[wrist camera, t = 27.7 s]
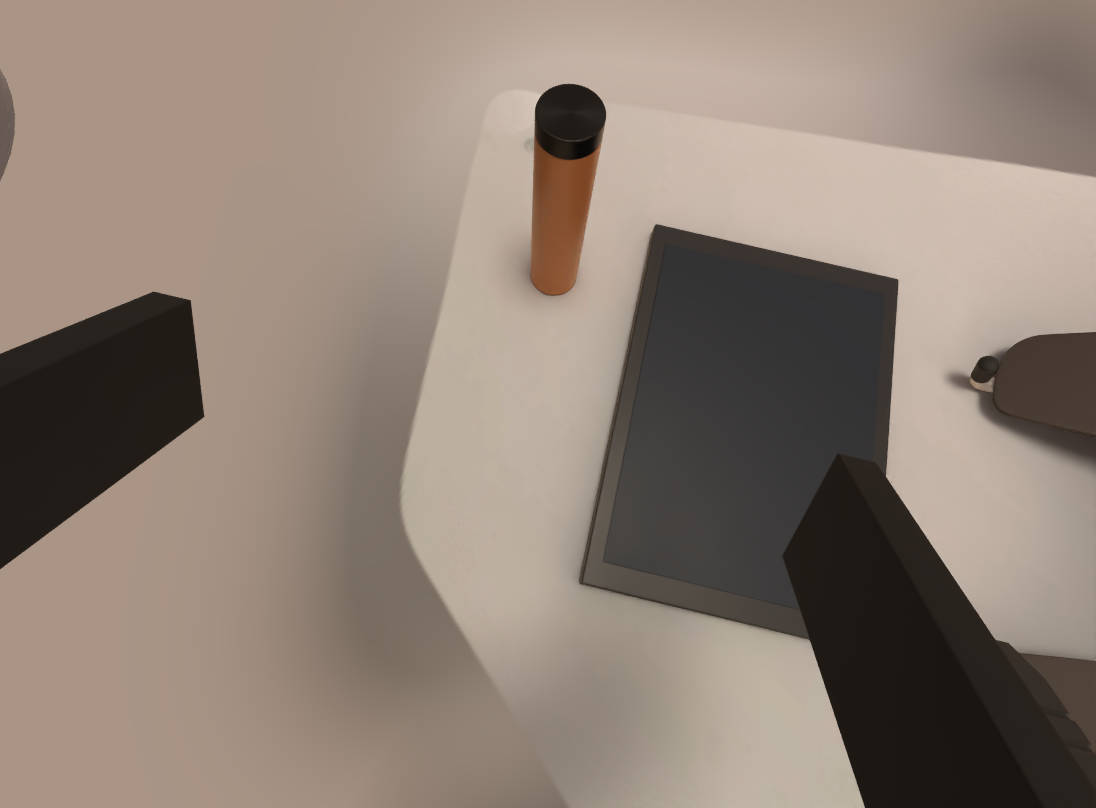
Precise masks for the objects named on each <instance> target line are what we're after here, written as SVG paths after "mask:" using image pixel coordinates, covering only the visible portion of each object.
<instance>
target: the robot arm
mask: <svg viewBox="0 0 1096 808" xmlns="http://www.w3.org/2000/svg"><path fill="white" fill-rule="evenodd" d="M203 417H204V411H203V403H202V394H201V385H200V377H199V368H198V360H197V351H196V342H195V334H194V325H193V317H192V308H191V300H187V299H183V298H178V297H174V296H169V295H165V294H161V293H157V292H152V293H149V294H147V295H144V296H142V297H139V298H137V299H134V300H132V301H130V302H127V303H125V304H122V305H120V306H117V307H115V308H112V309H110V310H107V311H105V312H102V313H100V314H98V315H95V316H93V317H90V318H88V319H85V320H83V321H80V322H78V323H75V324H73V325H71V326H68V327H65V328H63V329H61V330H58V331H56V332H53V333H51V334H48V335H46V336H43V337H41V338H38V339H36V340H33V341H31V342H29V343H26V344H23V345H21V346H19V347H16V348H14V349H11V350H9V351H6V352H4V353H1V354H0V569H1V568H2V567H4V566H5V565H6V564H7V563H9V562H10V561H12V560H13V559H14V558H16V557H17V556H18V555H20V554H21V553H22V552H24V551H25V550H26V549H28V548H29V547H31V546H32V545H33V544H34V543H36V542H37V541H39V540H40V539H41V538H42V537H44V536H45V535H46V534H48V533H49V532H51V531H52V530H53V529H55V528H56V527H57V526H58V525H60V524H61V523H63V522H64V521H65V520H67V519H68V518H69V517H71V516H72V515H73V514H75V513H76V512H77V511H79V510H80V509H81V508H82V507H84V506H85V505H87V504H88V503H89V502H91V501H92V500H93V499H95V498H96V497H97V496H99V495H100V494H101V493H103V492H104V491H106V490H107V489H108V488H109V487H111V486H112V485H114V484H115V483H116V482H118V481H119V480H120V479H122V478H123V477H124V476H126V475H127V474H128V473H130V472H131V471H132V470H134V469H135V468H136V467H138V466H139V465H140V464H142V463H143V462H144V461H146V460H147V459H148V458H150V457H151V456H152V455H154V454H155V453H157V452H158V451H159V450H160V449H162V448H163V447H164V446H166V445H167V444H169V443H170V442H171V441H173V440H174V439H175V438H176V437H178V436H179V435H181V434H182V433H183V432H184V431H186V430H187V429H189V428H190V427H191V426H193V425H194V424H195V423H197V422H198V421H199V420H201V419H202V418H203ZM782 557H783V560H784V563H785V566H786V569H787V572H788V575H789V578H790V581H791V584H792V587H793V590H794V593H795V596H796V599H797V602H798V605H799V608H800V611H801V614H802V617H803V620H804V623H805V627H806V630H807V633H808V636H809V639H810V642H811V645H812V648H813V651H814V654H815V657H816V660H817V663H818V666H819V669H820V672H821V675H822V678H823V681H824V684H825V687H826V690H827V693H828V696H829V699H830V703H831V706H832V709H833V712H834V715H835V718H836V721H837V724H838V727H839V730H840V733H841V736H842V739H843V742H844V745H845V748H846V751H847V754H848V757H849V760H850V763H851V766H852V769H853V772H854V775H855V778H856V782H857V785H858V788H859V791H860V794H861V797H862V800H863V803H864V806H865V808H1096V753H1095V752H1092V749H1091V746H1092V744H1091V743H1090V741H1089V740H1088V738H1087V737H1086V736H1085V734H1084V733H1083V731H1082V730H1081V729H1080V727H1079V726H1078V724H1077V723H1076V722H1075V721H1072V720H1070V718H1069V715H1070V713H1069V712H1068V710H1067V709H1066V708H1065V706H1064V705H1063V703H1062V702H1061V701H1060V699H1059V698H1058V696H1057V695H1056V694H1055V692H1054V691H1053V689H1052V688H1051V686H1050V685H1049V684H1048V682H1047V681H1046V679H1045V678H1044V677H1043V676H1042V675H1041V674H1040V673H1039V672H1038V671H1037V670H1036V669H1035V668H1034V667H1033V666H1032V665H1031V664H1030V663H1029V662H1028V661H1026V660H1025V659H1024V658H1023V657H1022V656H1021V655H1020V654H1019V653H1018V652H1017V651H1016V650H1015V649H1014V648H1013V647H1012V646H1011V645H1010V644H1009V643H1006V642H1002V641H997V640H995V639H994V637H993V636H992V634H991V633H990V631H989V630H988V628H987V627H986V625H985V624H984V622H983V621H982V619H981V618H980V616H979V615H978V613H977V612H976V610H975V609H974V607H973V606H972V604H971V603H970V601H969V600H968V598H967V597H966V596H965V594H964V593H963V591H962V590H961V588H960V587H959V585H958V584H957V582H956V581H955V579H954V578H953V576H952V575H951V573H950V572H949V570H948V569H947V567H946V566H945V564H944V563H943V561H942V560H941V558H940V557H939V555H938V554H937V552H936V551H935V549H934V548H933V546H932V545H931V543H930V542H929V540H928V539H927V537H926V536H925V534H924V533H923V531H922V530H921V528H920V527H919V525H918V524H917V523H916V521H915V520H914V518H913V517H912V515H911V514H910V512H909V511H908V509H907V508H906V506H905V505H904V503H903V502H902V500H901V499H900V497H899V496H898V494H897V493H896V491H895V490H894V488H893V487H892V485H891V484H890V482H889V481H888V479H887V478H886V476H885V475H884V473H883V472H882V470H881V469H880V467H879V466H878V464H877V463H876V462H873V461H869V460H864V459H860V458H856V457H852V456H847V455H843V454H839V453H837V455H836V457H835V459H834V460H833V462H832V464H831V466H830V468H829V470H828V472H827V473H826V475H825V477H824V479H823V481H822V483H821V485H820V486H819V488H818V490H817V492H816V494H815V496H814V498H813V499H812V501H811V503H810V505H809V507H808V509H807V511H806V512H805V514H804V516H803V518H802V520H801V522H800V524H799V525H798V527H797V529H796V531H795V533H794V535H793V536H792V538H791V540H790V542H789V544H788V546H787V548H786V549H785V551H784V553H783V555H782Z"/></svg>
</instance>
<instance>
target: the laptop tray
mask: <svg viewBox="0 0 1096 808" xmlns="http://www.w3.org/2000/svg"><path fill="white" fill-rule="evenodd" d="M998 367H999V368H998ZM997 369H998V371H997V374H996V377H995V378H994V377H992V376H993V375H994V373H995V372H996V370H997ZM970 383H971V384H972V386H973V387H974V388H976V389H979V390H982V391H986V392H993V404H994V406H995V407H996V409H997V410H998V411H1000V412H1001V413H1003V414H1005V415H1008V416H1011V417H1014V418H1018V419H1022V420H1026V421H1030V422H1034V423H1038V424H1042V425H1047V426H1051V427H1055V428H1059V429H1063V430H1067V431H1072V432H1076V433H1080V434H1085V435H1089V436H1094V437H1096V332H1090V333H1067V334H1049V335H1038V336H1033V337H1030V338H1027V339H1024V340H1022V341H1020V342H1018V343H1017V344H1015V345H1014V346H1013V347H1011V348H1010V349H1009V350H1008V351H1007V353H1006V354H1005V356H1004V357H1003V359H1002V361H1001V363H1000V365H999V362H998V360H997V359H996V358H994V357H991V356H985V357H982V358H980V359H979V360H978V362H977V364H976V366H975V368H974V369H973V371H972V373H971V377H970ZM1019 654H1020V655H1021V656H1022V657H1023V658H1024V659H1025V660H1026V661H1028V662H1029V663H1030V664H1031V665H1032V666H1033V667H1034V668H1035V669H1036V670H1037V671H1038V672H1039V673H1040V674H1041V675H1042V676H1043V677H1044V678H1045V679H1046V681H1047V682H1048V684H1049V685H1050V686H1051V688H1052V689H1053V691H1054V692H1055V694H1056V695H1057V696H1058V698H1059V699H1060V701H1061V702H1062V703H1063V705H1064V706H1065V708H1066V709H1067V710H1068V712H1069V713H1070V715H1069V718H1070V720H1072V721H1075V722H1076V723H1077V724H1078V726H1079V727H1080V729H1081V730H1082V731H1083V733H1084V734H1085V736H1086V737H1087V738H1088V740H1089V741H1090V743H1091V744H1092V746H1091V749H1092V752H1095V753H1096V661H1089V660H1080V659H1071V658H1063V657H1053V656H1042V655H1032V654H1021V653H1019Z"/></svg>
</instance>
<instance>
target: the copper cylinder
mask: <svg viewBox="0 0 1096 808" xmlns="http://www.w3.org/2000/svg"><path fill="white" fill-rule="evenodd" d="M605 121H606V110H605V106H604V104H603V102H602V100H601V99H600V98H599V97H598V95H597V94H596V93H594V92H593V91H591V90H590V89H588V88H586V87H583V86H580V85H575V84H562V85H558V86H555V87H552V88H551V89H549V90H547V91H546V92H545V93H544V94H542V96H541V97H540V98H539V100H538V102H537V104H536V108H535V135H534V170H533V205H532V241H531V280H532V282H533V284H534V285H535V287H536V288H537V289H538V290H540V291H541V292H543V293H545V294H549V295H560V294H563V293H565V292H567V291H568V290H570V289H571V288H572V287H573V285H574V283H575V281H576V277H577V271H578V266H579V261H580V255H581V250H582V245H583V239H584V234H585V228H586V223H587V218H588V212H589V207H590V201H591V196H592V191H593V185H594V180H595V174H596V169H597V164H598V158H599V153H600V148H601V142H602V137H603V131H604V126H605Z"/></svg>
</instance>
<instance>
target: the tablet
mask: <svg viewBox="0 0 1096 808" xmlns="http://www.w3.org/2000/svg"><path fill="white" fill-rule="evenodd" d="M897 295H898V279H894V278H890V277H885V276H881V275H876V274H872V273H868V272H863V271H859V270H854V269H850V268H846V267H841V266H837V265H833V264H828V263H824V262H819V261H815V260H811V259H806V258H802V257H798V256H793V255H789V254H784V253H780V252H776V251H771V250H767V249H762V248H758V247H754V246H749V245H745V244H741V243H736V242H732V241H727V240H723V239H719V238H714V237H710V236H706V235H701V234H697V233H692V232H688V231H684V230H679V229H675V228H670V227H666V226H662V225H657V224H656V225H655V226H654V229H653V232H652V234H651V239H650V244H649V249H648V254H647V259H646V263H645V268H644V273H643V278H642V283H641V287H640V292H639V297H638V302H637V307H636V312H635V316H634V321H633V326H632V331H631V336H630V340H629V345H628V350H627V355H626V360H625V364H624V369H623V374H622V379H621V384H620V389H619V393H618V398H617V403H616V408H615V413H614V417H613V422H612V427H611V432H610V437H609V441H608V446H607V451H606V456H605V461H604V466H603V470H602V475H601V480H600V485H599V490H598V494H597V499H596V504H595V509H594V514H593V518H592V523H591V528H590V533H589V538H588V543H587V547H586V552H585V557H584V562H583V567H582V571H581V576H580V581H579V582H580V583H581V584H584V585H588V586H592V587H597V588H601V589H605V590H609V591H613V592H617V593H621V594H625V595H629V596H634V597H638V598H642V599H646V600H650V601H654V602H658V603H662V604H666V605H671V606H675V607H679V608H683V609H687V610H691V611H695V612H699V613H703V614H707V615H712V616H716V617H720V618H724V619H728V620H732V621H736V622H740V623H744V624H749V625H753V626H757V627H761V628H765V629H769V630H773V631H777V632H781V633H785V634H790V635H794V636H798V637H802V638H806V639H809V636H808V633H807V630H806V627H805V623H804V620H803V617H802V614H801V611H800V608H799V605H798V602H797V599H796V596H795V593H794V590H793V587H792V584H791V581H790V578H789V575H788V572H787V569H786V566H785V563H784V560H783V557H782V555H783V553H784V551H785V549H786V548H787V546H788V544H789V542H790V540H791V538H792V536H793V535H794V533H795V531H796V529H797V527H798V525H799V524H800V522H801V520H802V518H803V516H804V514H805V512H806V511H807V509H808V507H809V505H810V503H811V501H812V499H813V498H814V496H815V494H816V492H817V490H818V488H819V486H820V485H821V483H822V481H823V479H824V477H825V475H826V473H827V472H828V470H829V468H830V466H831V464H832V462H833V460H834V459H835V457H836V455H837V453H839V454H843V455H847V456H852V457H856V458H860V459H864V460H869V461H873V462H876V463H877V464H878V466H879V467H880V469H881V470H882V472H883V473H884V475H885V476H886V467H887V451H888V436H889V420H890V404H891V389H892V373H893V358H894V342H895V326H896V311H897Z"/></svg>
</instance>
